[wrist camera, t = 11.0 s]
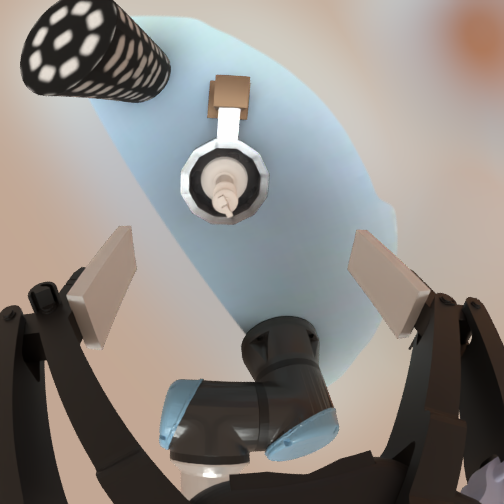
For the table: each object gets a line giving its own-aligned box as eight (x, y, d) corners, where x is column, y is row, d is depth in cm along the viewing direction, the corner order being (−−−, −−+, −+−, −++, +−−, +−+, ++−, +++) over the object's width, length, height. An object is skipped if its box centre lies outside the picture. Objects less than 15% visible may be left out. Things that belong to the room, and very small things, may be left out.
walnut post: (246, 119, 32) (257, 119, 22) (207, 117, 32) (201, 116, 21) (249, 83, 30) (262, 67, 20) (210, 81, 29) (205, 64, 19)
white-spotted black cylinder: (121, 112, 30) (30, 118, 12) (105, 63, 26) (15, 34, 8) (178, 87, 29) (129, 55, 12) (161, 37, 25) (107, -29, 8)
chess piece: (213, 208, 29) (209, 251, 20) (193, 169, 27) (178, 194, 18) (254, 190, 29) (270, 225, 20) (236, 149, 27) (243, 164, 18)
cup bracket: (259, 214, 31) (264, 225, 28) (184, 212, 30) (180, 223, 27) (271, 97, 25) (277, 94, 22) (189, 92, 24) (184, 89, 21)
